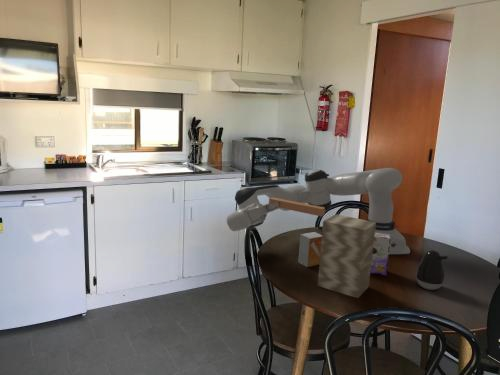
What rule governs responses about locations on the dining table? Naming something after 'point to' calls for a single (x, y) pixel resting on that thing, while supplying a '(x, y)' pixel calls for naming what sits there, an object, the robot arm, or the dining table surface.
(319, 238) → the small box
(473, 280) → the dining table surface
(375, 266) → the candy box
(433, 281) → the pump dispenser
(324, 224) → the stand
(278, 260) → the dining table surface
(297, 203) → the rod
